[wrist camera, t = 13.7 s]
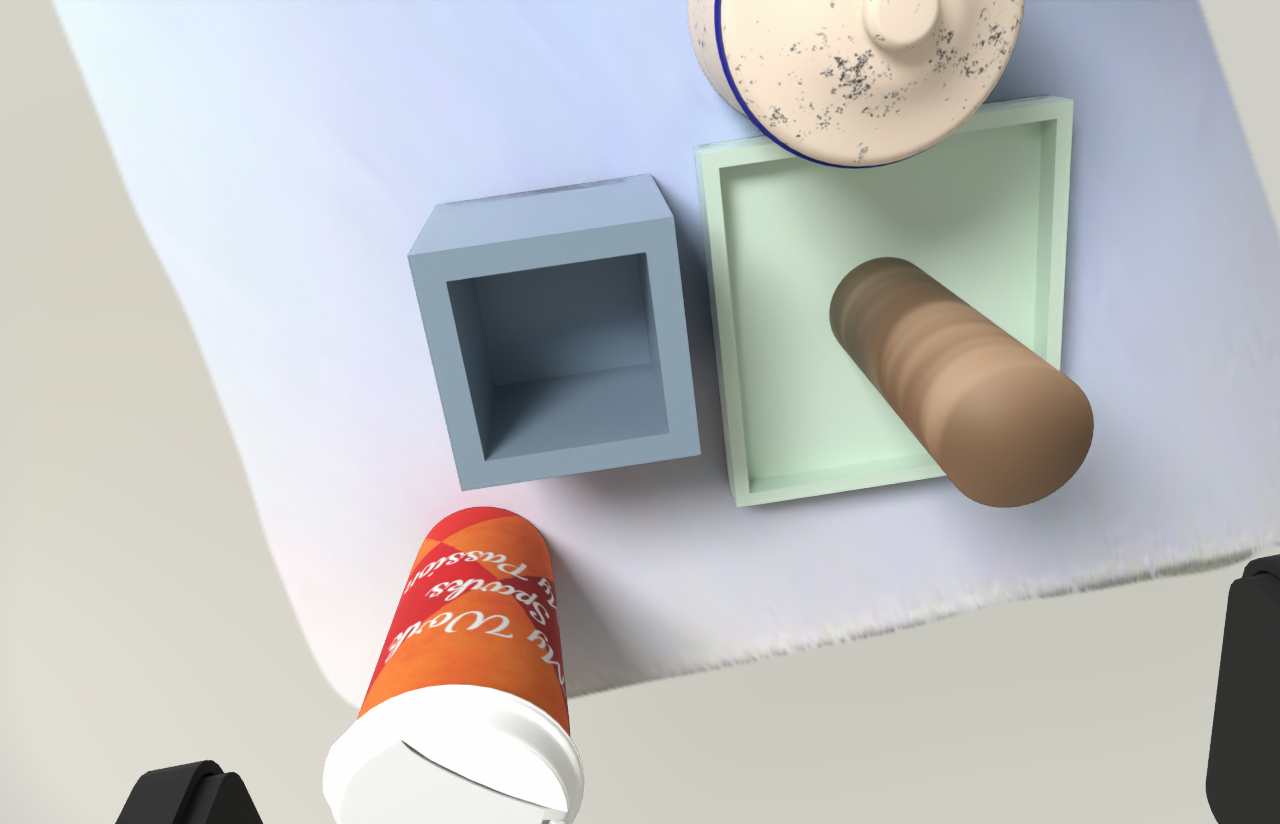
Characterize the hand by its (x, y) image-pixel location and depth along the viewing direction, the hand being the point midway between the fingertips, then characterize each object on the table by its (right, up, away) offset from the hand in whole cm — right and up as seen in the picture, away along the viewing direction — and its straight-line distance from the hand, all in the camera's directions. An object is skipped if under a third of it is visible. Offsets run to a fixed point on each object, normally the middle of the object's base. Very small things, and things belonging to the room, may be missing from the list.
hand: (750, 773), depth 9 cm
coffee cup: (-8, -3, +35) cm, 36 cm away
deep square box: (-4, +8, +30) cm, 31 cm away
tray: (+9, +8, +31) cm, 33 cm away
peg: (+9, +8, +31) cm, 33 cm away
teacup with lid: (+4, +20, +26) cm, 33 cm away
